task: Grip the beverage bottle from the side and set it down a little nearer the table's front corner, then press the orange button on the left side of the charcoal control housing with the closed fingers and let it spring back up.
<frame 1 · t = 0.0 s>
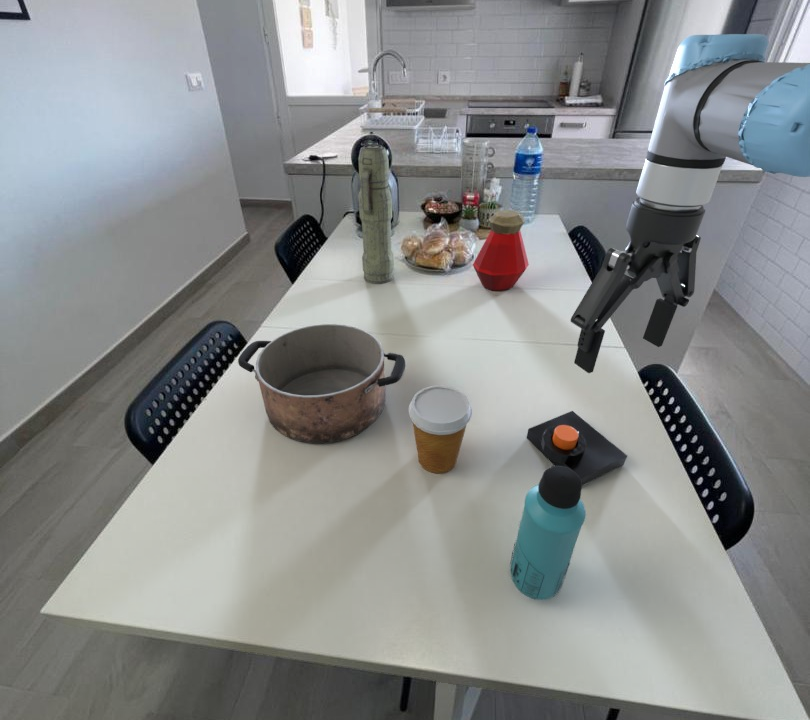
hand: (619, 354, 63), 20 cm above the table, tool pointing down, fingers open, 13 cm apart
thermos: (378, 277, 130), on the table
beverage bottle: (532, 583, 57), on the table
disposable coffee cup: (437, 459, 74), on the table
bottle: (498, 284, 126), on the table
cooking pot: (327, 403, 85), on the table
button: (565, 437, 71), point 5 cm above the table, slide at 0.1 cm
control housing: (573, 451, 75), on the table
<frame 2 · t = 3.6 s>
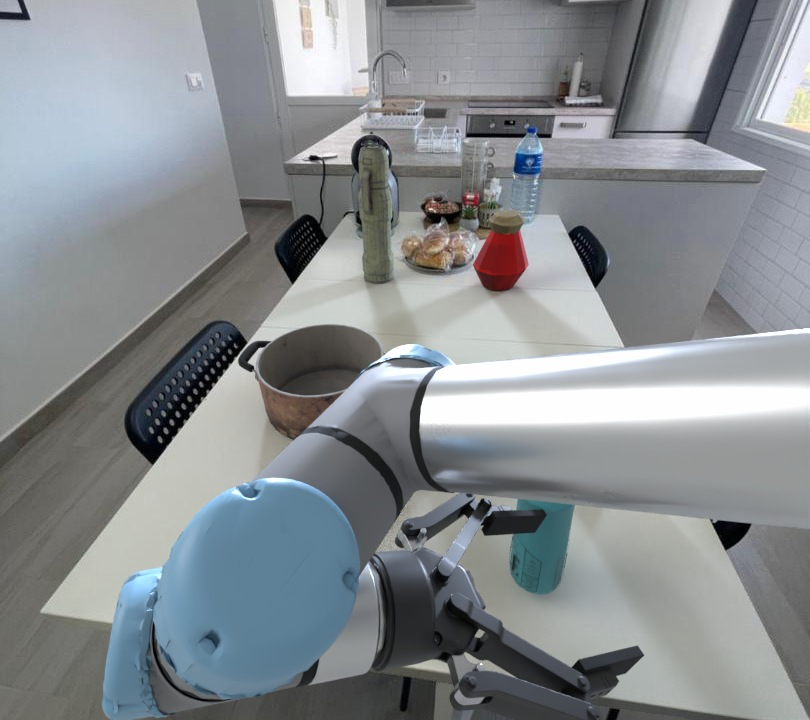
hand: (579, 581, 41), 15 cm above the table, tool tilted 70°, fingers open, 13 cm apart
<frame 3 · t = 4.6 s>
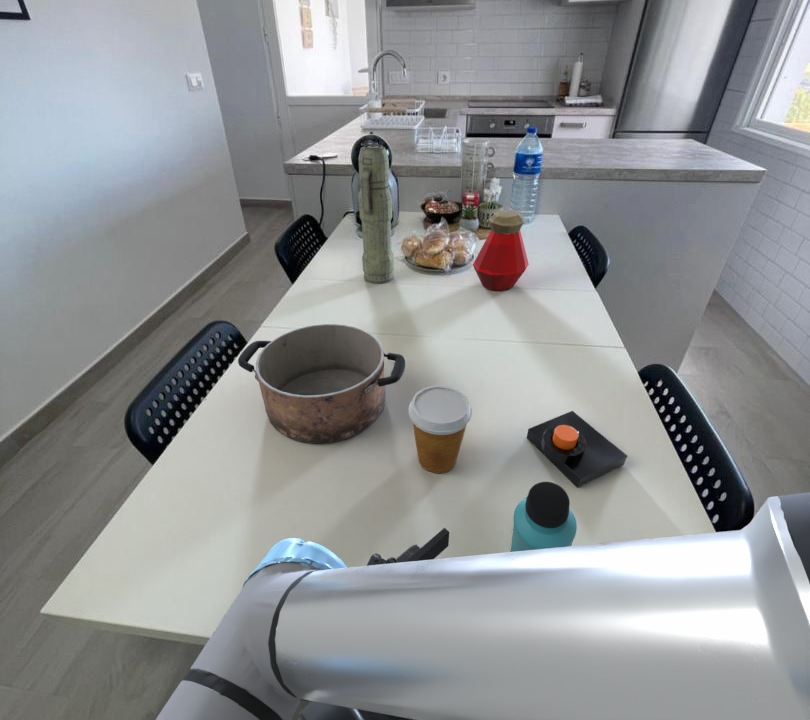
hand: (495, 580, 46), 11 cm above the table, tool horizontal, fingers open, 13 cm apart
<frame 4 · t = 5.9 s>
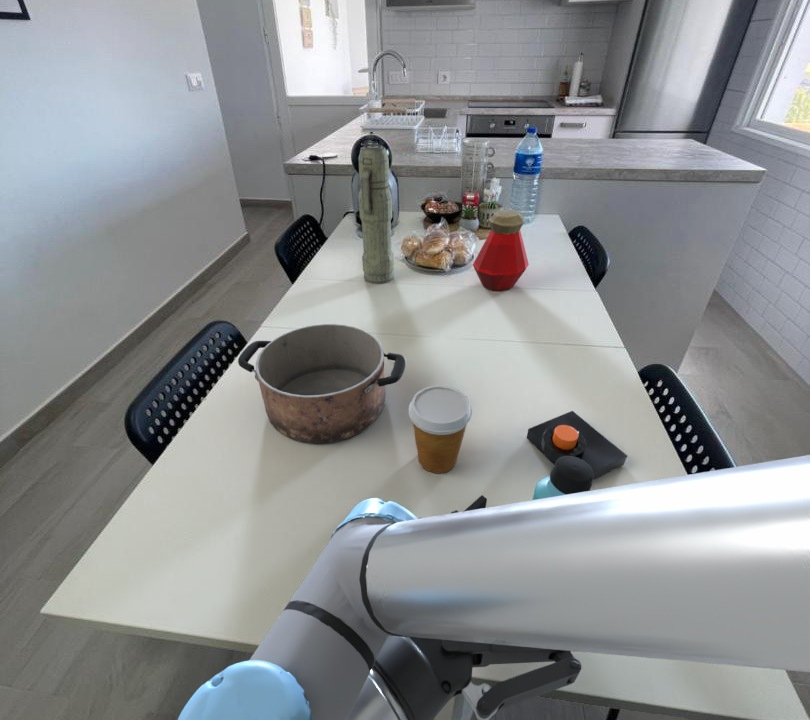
hand: (531, 542, 49), 11 cm above the table, tool horizontal, fingers open, 13 cm apart
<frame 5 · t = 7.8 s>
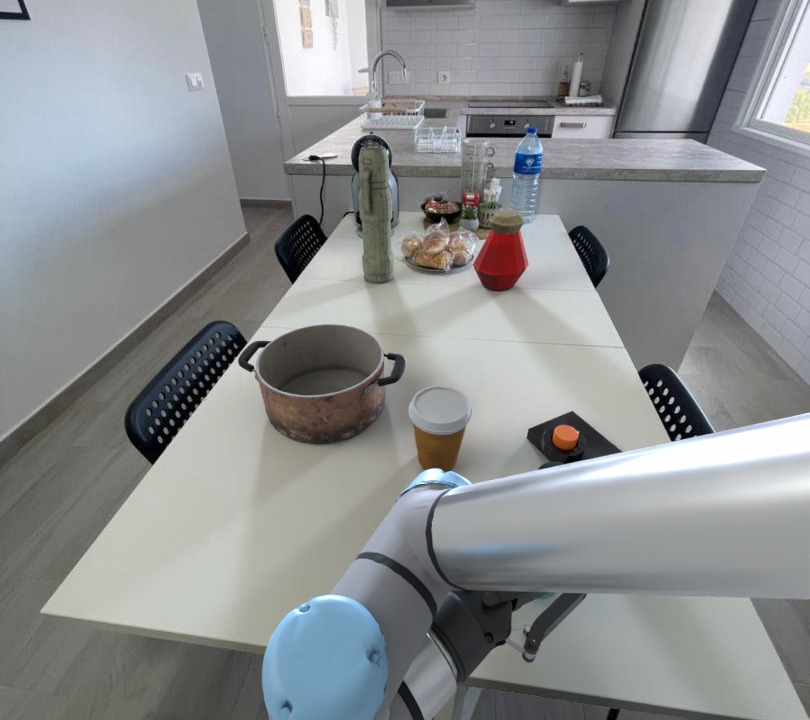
hand: (568, 504, 53), 11 cm above the table, tool horizontal, fingers closed on beverage bottle, 6 cm apart
beverage bottle: (532, 583, 57), on the table, touching gripper
everything else where it was.
when the fingers open (11 cm above the table, at t = 13.0 s): beverage bottle stays where it is, on the table.
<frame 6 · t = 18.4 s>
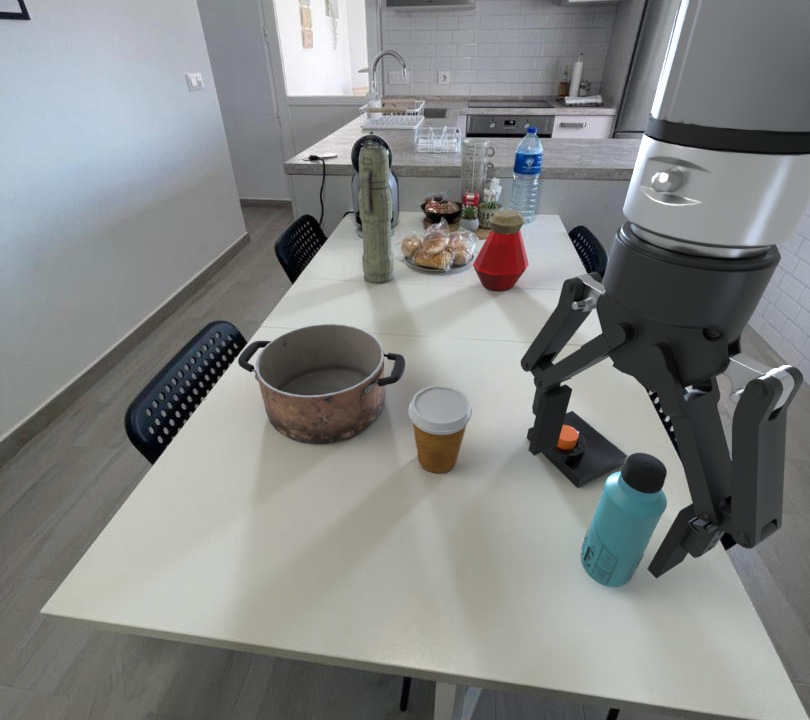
hand: (596, 499, 35), 26 cm above the table, tool pointing down, fingers open, 12 cm apart
beverage bottle: (601, 571, 58), on the table
everything else where it was.
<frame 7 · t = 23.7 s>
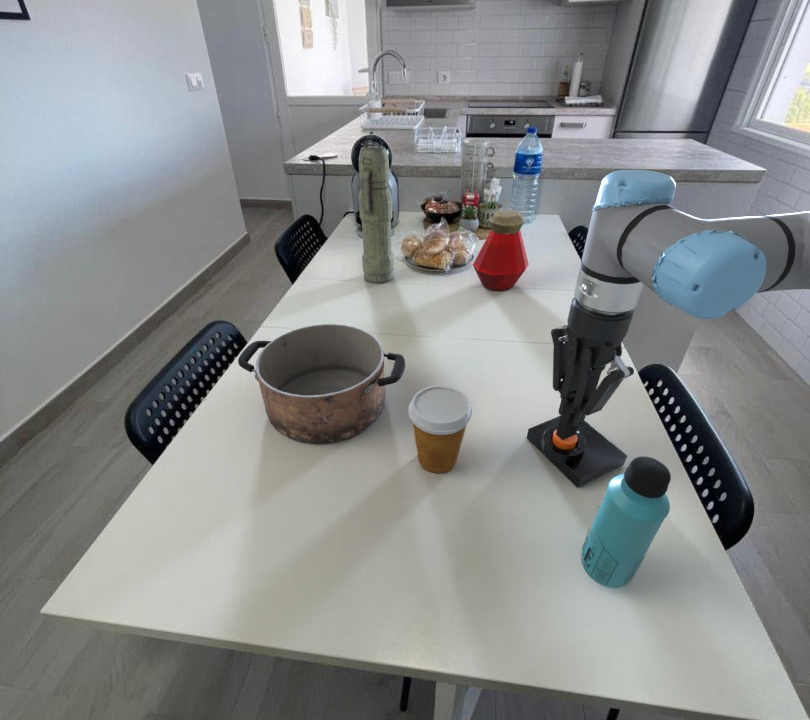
hand: (565, 434, 70), 5 cm above the table, tool pointing down, fingers closed
button: (564, 440, 71), point 4 cm above the table, slide at -0.6 cm, touching gripper
everything else where it was.
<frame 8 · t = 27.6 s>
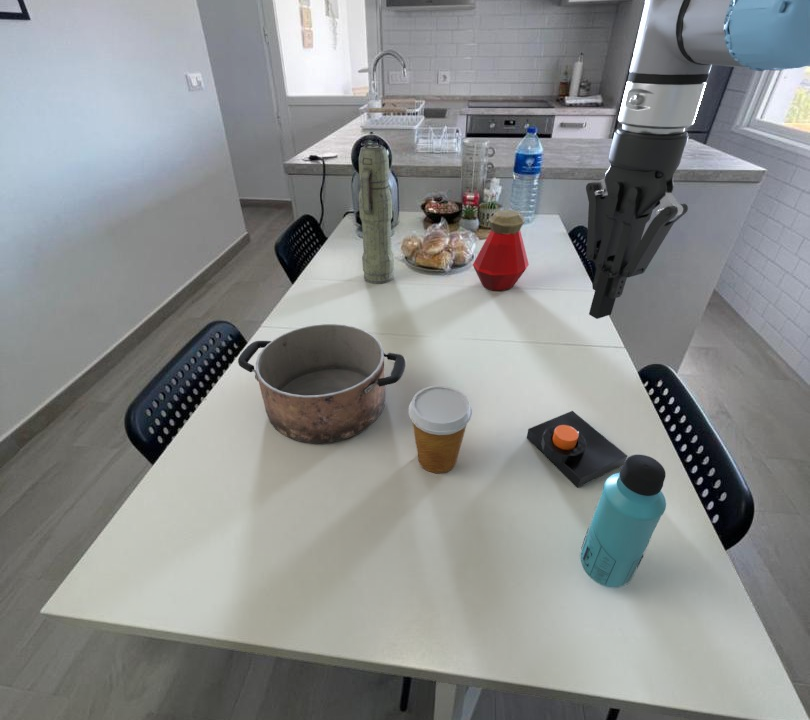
hand: (599, 314, 63), 24 cm above the table, tool pointing down, fingers closed
button: (565, 437, 71), point 5 cm above the table, slide at 0.1 cm
everything else where it was.
at the end: beverage bottle inside the target area (0.4 cm from its centre), on the table; button pushed in 1.0 cm at the most during the clip, back to where it started at the end; button slide at 0.1 cm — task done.
